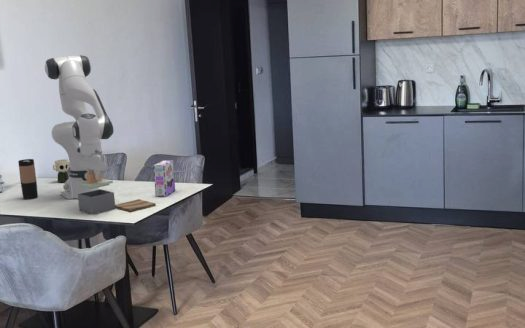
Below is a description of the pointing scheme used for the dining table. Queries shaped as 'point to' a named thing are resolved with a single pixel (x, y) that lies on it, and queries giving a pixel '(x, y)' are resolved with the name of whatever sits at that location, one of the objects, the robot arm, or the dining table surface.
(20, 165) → the travel mug
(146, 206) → the walnut board
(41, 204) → the dining table surface
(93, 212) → the storage box
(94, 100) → the robot arm
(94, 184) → the lid
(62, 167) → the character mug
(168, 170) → the candy box
